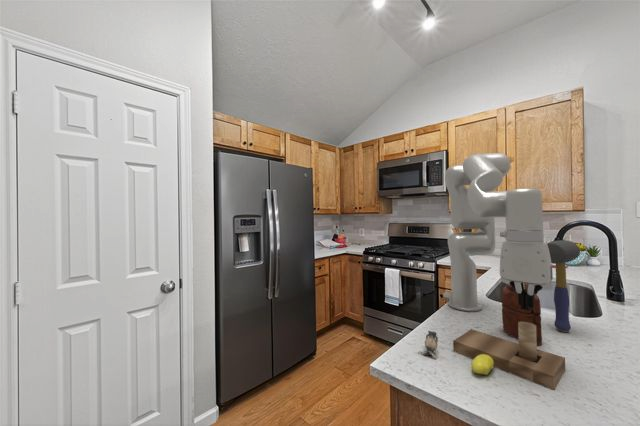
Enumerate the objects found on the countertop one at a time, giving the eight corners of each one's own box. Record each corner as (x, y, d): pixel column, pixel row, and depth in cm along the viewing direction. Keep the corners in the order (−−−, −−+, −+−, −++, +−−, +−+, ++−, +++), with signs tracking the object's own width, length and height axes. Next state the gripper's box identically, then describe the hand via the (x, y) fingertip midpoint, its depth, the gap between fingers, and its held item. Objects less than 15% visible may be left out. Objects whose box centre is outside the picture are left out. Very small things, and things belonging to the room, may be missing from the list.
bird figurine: (424, 346, 79) (426, 326, 79) (443, 354, 75) (444, 333, 75) (417, 353, 75) (418, 332, 75) (436, 361, 71) (437, 340, 71)
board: (453, 351, 75) (453, 340, 76) (471, 338, 83) (471, 329, 83) (554, 389, 58) (553, 376, 58) (565, 369, 66) (564, 357, 66)
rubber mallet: (569, 340, 80) (566, 242, 81) (540, 331, 87) (537, 240, 87) (585, 330, 86) (582, 240, 87) (556, 322, 93) (553, 238, 93)
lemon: (499, 370, 66) (498, 354, 66) (483, 381, 62) (483, 365, 62) (481, 362, 70) (481, 348, 70) (465, 373, 65) (465, 357, 65)
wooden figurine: (550, 343, 79) (548, 283, 79) (538, 347, 76) (536, 286, 77) (509, 328, 90) (508, 275, 90) (497, 331, 87) (495, 277, 87)
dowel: (517, 367, 67) (516, 324, 67) (521, 362, 69) (520, 320, 69) (535, 373, 64) (533, 328, 64) (539, 368, 66) (537, 324, 66)
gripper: (485, 236, 71) (488, 305, 70) (560, 239, 59) (563, 321, 59) (496, 235, 75) (498, 299, 75) (566, 237, 63) (569, 313, 63)
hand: (526, 308), depth 67 cm, fingers closed
